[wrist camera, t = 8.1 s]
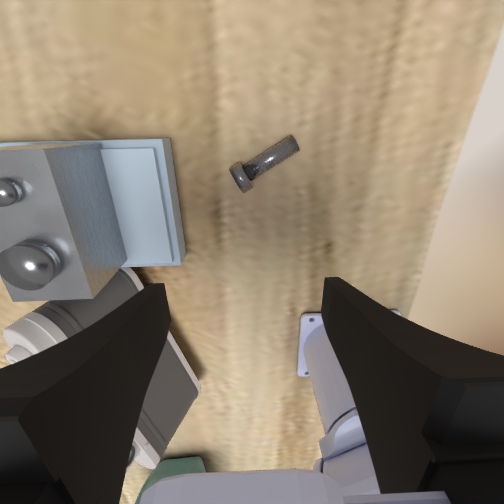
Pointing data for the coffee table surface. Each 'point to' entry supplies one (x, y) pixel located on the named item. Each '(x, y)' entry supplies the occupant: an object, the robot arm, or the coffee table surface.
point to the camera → (163, 380)
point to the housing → (57, 222)
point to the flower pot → (173, 471)
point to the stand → (141, 197)
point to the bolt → (263, 163)
